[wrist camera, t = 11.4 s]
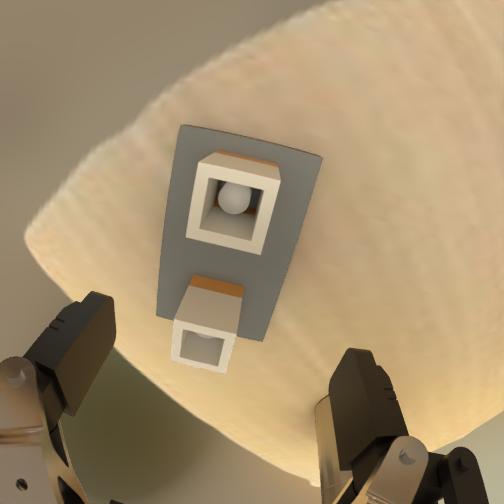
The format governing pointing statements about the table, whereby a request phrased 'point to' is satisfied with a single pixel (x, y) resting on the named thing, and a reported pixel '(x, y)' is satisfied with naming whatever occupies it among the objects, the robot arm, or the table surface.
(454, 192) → the table surface
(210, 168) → the sleeve
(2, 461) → the robot arm
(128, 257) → the table surface
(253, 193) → the pin board
